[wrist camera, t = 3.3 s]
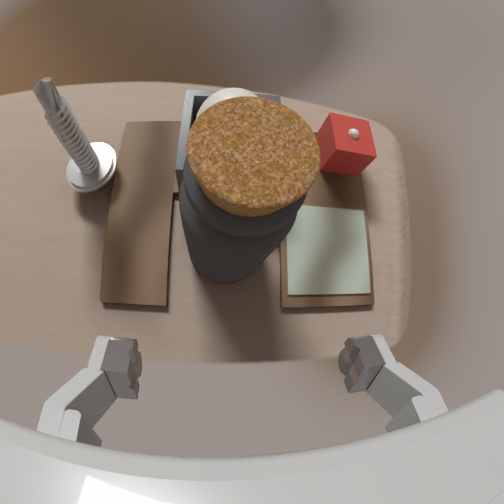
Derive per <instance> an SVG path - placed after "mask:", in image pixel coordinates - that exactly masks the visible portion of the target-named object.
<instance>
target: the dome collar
mask: <svg viewBox="0 0 504 504" xmlns="http://www.w3.org/2000/svg"><path fill="white" fill-rule="evenodd" d="M215 92H217V91H211V90H187V92H186V97H185V103H184V109H183V115H182V122H181V129H180V135H179V143H178V150H177V158H176V166H175V172H176V178H177V184H178V190H179V192H180V187H181V183H182V180H183V166H184V162H185V158H186V155H187V154H186V143H187V136H188V134H189V131H190V128H191V126H192V125H193V123H194V121H195V120H196V117H197V113H198V111H199V109H200V107H201V105H202V104H203V102H204V101H205V100H206V99H207V98H208V97H209V96H211V95H212V94H214V93H215ZM255 95H257V96H258V97H261V98H266V99H270V100H273V101H276V102H278V103H281V102H280V97H279V96H271V95H262V94H255Z"/></svg>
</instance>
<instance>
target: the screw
mask: <svg viewBox="0 0 504 504" xmlns="http://www.w3.org/2000/svg"><path fill="white" fill-rule="evenodd" d="M33 92H34V93H35V95H36V97H37V98H38V100H39V102H40V103H41V105H42V107H43V108H44V110H45V119H47V122H48V124H49V125H50V126H51V129H52V130H54V134H56V135H57V138H58V139H60V142H61V143H62V145H63V147H64V148H65V149H66V151H67V152H68V154H69V155H70V156H71V159H70V161H69V163H68V166H67V170H66V177H67V181H68V183H69V185H70V186H71V187H72V188H73V189H74V190H76V191H78V192H81V193H90V192H94V191H96V190H99V189H100V188H102V187H103V186H105V185H106V184H107V183H108V182H109V181H110V179H111V178H112V177H113V175H114V173H115V171H116V167H117V157H116V154H115V152H114V150H113V149H112V147H111V146H109V145H108V144H106V143H102V142H95V143H90V142H89V141H88V139H87V137H86V136H85V133H84V132H83V129H82V128H81V126H80V124H79V123H78V120H77V118H76V117H75V114H74V113H73V111H72V109H71V108H70V105H69V103H68V102H66V99H65V98H64V97H61V96H60V95H59V93H58V91H57V89H56V87H55V85H54V83H53V81H52V79H51V78H50V77H46V78H43V79H42V80H40V81H39V82H38V83H37V84H36V86H35V88H34V90H33Z"/></svg>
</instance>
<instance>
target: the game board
mask: <svg viewBox="0 0 504 504" xmlns="http://www.w3.org/2000/svg"><path fill="white" fill-rule="evenodd" d="M181 122H182V121H149V122H127V124H126V127H125V131H124V135H123V139H122V144H121V148H120V152H119V157H118V162H117V167H116V171H115V176H114V182H113V187H112V193H111V199H110V205H109V212H108V219H107V226H106V234H105V242H104V252H103V263H102V275H101V292H100V302H106V303H121V304H137V305H156V306H167V289H168V264H169V246H170V231H171V218H172V206H173V196H174V194H175V195H179V194H180V192H179V190H178V184H177V178H176V172H175V166H176V158H177V150H178V143H179V135H180V129H181ZM313 133H314V135H315V136H316V135H317V133H315V132H313ZM279 250H280V302H281V308H294V307H332V306H356V305H373V304H374V291H373V274H372V261H371V249H370V239H369V229H368V221H367V212H366V205H365V198H364V191H363V184H362V178H361V173H360V174H359V175H358V176H353V175H346V174H339V173H331V172H323V171H320V170H319V173H318V176H317V178H316V181H315V182H314V184H313V185H312V187H311V188H310V189H309V190H308V192H307V196H306V198H305V200H304V203H303V205H302V206H301V208H300V209H299V211H298V213H297V216H296V220H295V223H294V225H293V227H292V229H291V230H290V232H289V233H288V234H287V236H286V237H285V238H284V240H283V241H282V242H281V243H280V244H279Z"/></svg>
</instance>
